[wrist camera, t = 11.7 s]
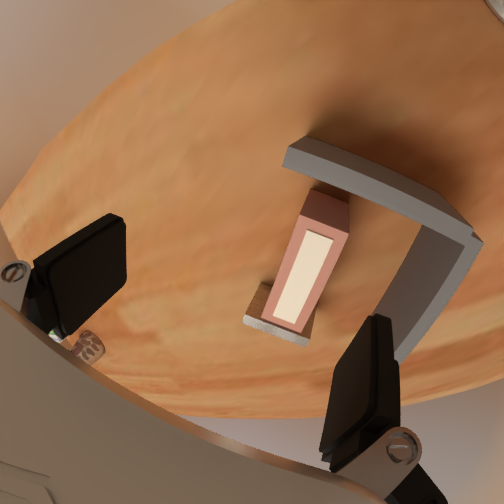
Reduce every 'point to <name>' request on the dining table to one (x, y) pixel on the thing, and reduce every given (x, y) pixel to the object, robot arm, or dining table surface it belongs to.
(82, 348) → the figurine
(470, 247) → the grey angle bracket
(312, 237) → the boxed book
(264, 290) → the bookend
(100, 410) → the robot arm
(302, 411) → the dining table surface
